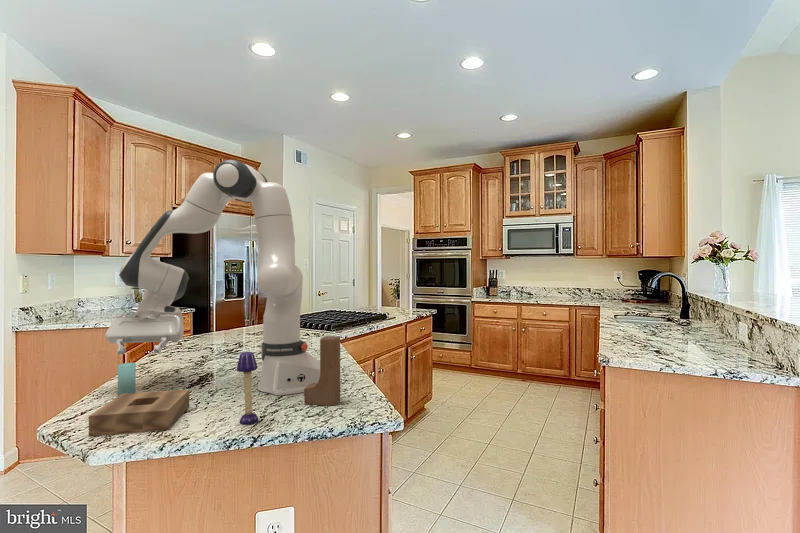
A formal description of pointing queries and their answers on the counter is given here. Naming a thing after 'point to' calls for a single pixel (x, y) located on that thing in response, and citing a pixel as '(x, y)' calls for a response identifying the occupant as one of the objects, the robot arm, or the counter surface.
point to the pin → (126, 378)
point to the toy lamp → (247, 385)
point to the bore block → (139, 412)
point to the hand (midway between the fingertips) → (138, 352)
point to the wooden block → (326, 375)
